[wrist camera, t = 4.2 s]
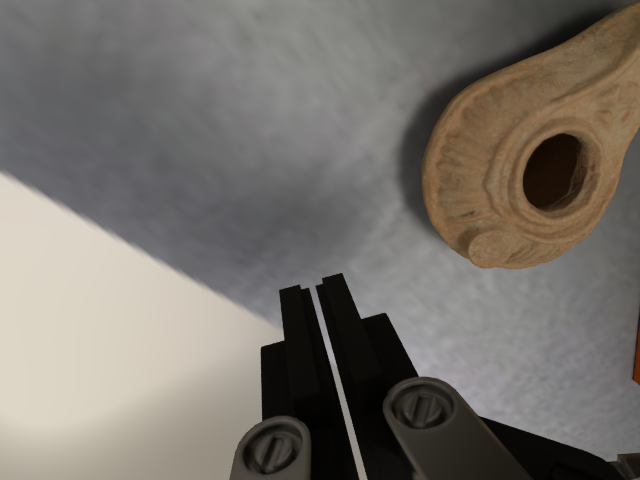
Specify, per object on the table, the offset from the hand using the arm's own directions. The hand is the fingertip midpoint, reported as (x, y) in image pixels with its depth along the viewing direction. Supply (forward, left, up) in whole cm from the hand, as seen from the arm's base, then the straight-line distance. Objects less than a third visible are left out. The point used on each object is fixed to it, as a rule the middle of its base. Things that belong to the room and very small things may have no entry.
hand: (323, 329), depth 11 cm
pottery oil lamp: (+12, 0, -10) cm, 16 cm away
